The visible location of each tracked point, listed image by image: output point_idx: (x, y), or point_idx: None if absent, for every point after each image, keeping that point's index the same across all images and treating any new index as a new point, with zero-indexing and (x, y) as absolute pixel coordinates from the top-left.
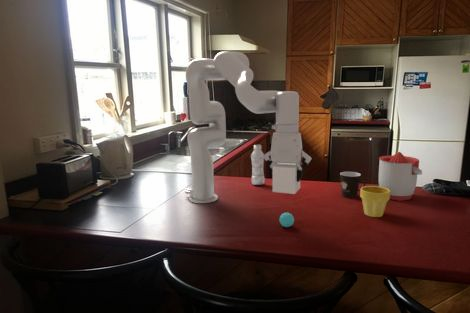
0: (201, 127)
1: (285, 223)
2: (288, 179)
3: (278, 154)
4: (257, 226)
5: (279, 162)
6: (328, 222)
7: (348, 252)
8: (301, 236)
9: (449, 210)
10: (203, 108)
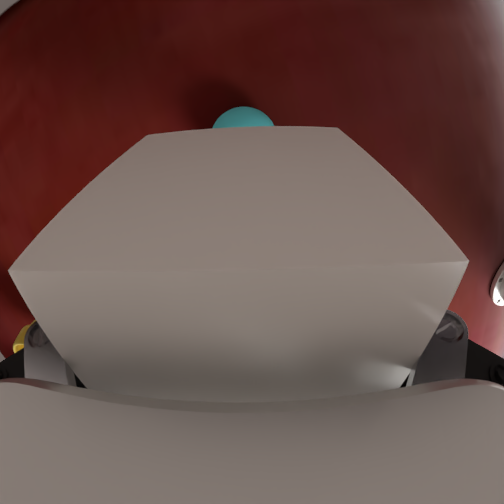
0: None
1: (239, 107)
2: (168, 170)
3: None
4: (358, 96)
5: (357, 397)
6: None
7: (16, 50)
8: (159, 66)
9: (8, 349)
10: None
